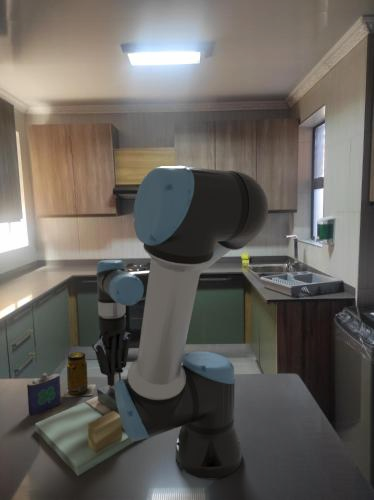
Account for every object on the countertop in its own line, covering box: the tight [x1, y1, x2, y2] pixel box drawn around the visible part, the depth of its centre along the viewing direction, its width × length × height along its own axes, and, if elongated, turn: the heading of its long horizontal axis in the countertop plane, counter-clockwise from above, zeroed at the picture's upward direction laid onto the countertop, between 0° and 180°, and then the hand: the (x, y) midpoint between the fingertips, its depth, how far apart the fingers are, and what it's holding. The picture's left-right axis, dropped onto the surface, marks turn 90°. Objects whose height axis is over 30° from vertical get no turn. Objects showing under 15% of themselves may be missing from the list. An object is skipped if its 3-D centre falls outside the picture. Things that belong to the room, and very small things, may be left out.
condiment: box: [63, 351, 97, 398], centre depth 104 cm, size 7×8×12 cm
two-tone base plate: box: [34, 395, 136, 477], centre depth 86 cm, size 22×24×8 cm
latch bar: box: [96, 384, 119, 414], centre depth 90 cm, size 15×4×4 cm, turn 47°
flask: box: [26, 372, 62, 418], centre depth 94 cm, size 9×3×11 cm, turn 138°
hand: (114, 394), depth 95 cm, fingers closed
